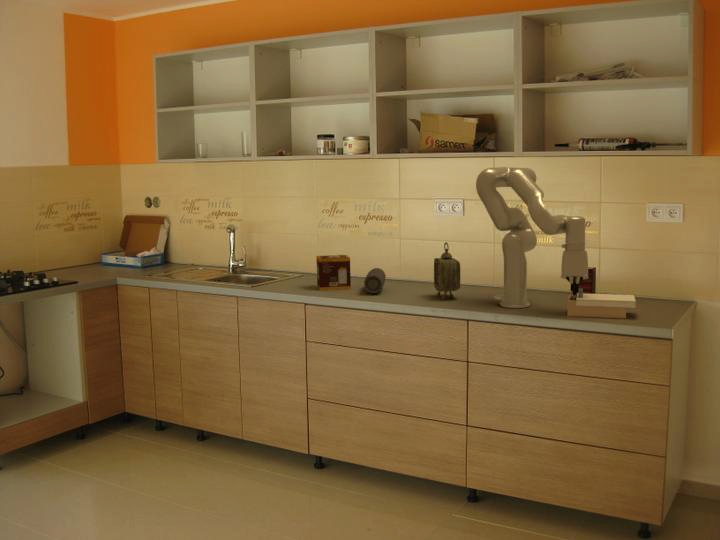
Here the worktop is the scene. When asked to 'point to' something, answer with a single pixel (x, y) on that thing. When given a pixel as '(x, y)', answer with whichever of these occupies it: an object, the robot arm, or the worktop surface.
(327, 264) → the supplement box
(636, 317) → the worktop surface
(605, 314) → the mailer base
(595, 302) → the mailer lid
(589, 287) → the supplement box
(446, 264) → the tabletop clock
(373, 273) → the bluetooth speaker
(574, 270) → the robot arm
